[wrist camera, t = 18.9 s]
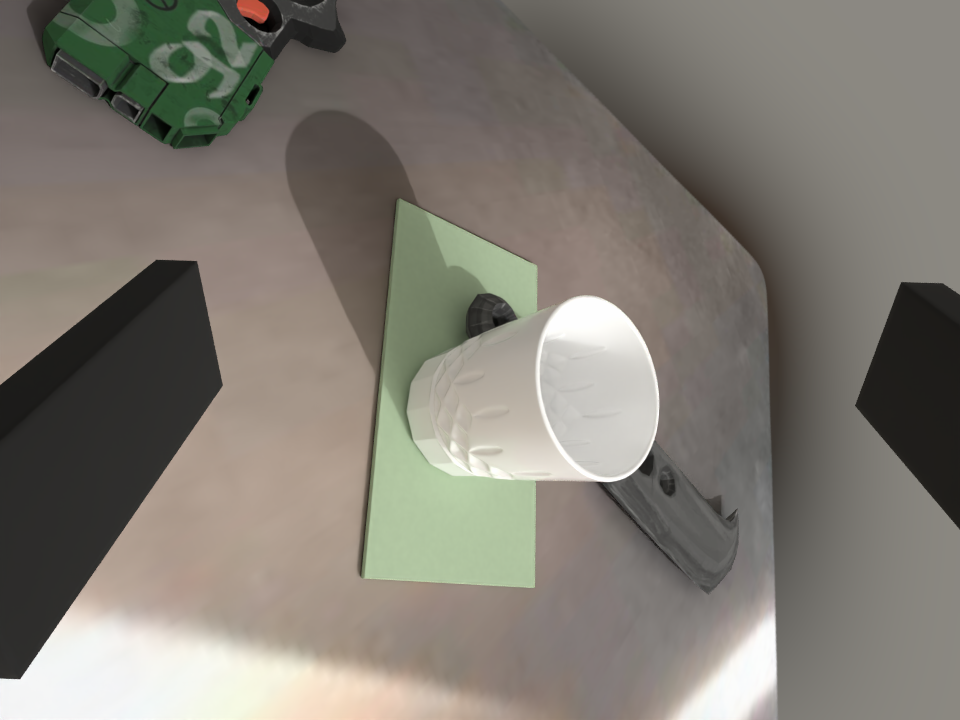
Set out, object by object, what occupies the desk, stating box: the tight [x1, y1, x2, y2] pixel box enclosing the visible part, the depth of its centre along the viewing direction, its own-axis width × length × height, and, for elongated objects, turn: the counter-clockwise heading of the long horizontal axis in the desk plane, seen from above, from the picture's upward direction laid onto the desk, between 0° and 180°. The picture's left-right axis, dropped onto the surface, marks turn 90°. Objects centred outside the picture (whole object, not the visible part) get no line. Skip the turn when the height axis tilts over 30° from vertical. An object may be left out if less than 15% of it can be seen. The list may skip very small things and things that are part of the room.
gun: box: [42, 0, 346, 149], centre depth 31 cm, size 16×1×10 cm
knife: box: [466, 293, 739, 595], centre depth 43 cm, size 9×2×30 cm
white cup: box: [407, 295, 659, 482], centre depth 31 cm, size 8×8×10 cm
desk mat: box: [361, 198, 537, 588], centre depth 36 cm, size 20×11×1 cm, turn 178°
